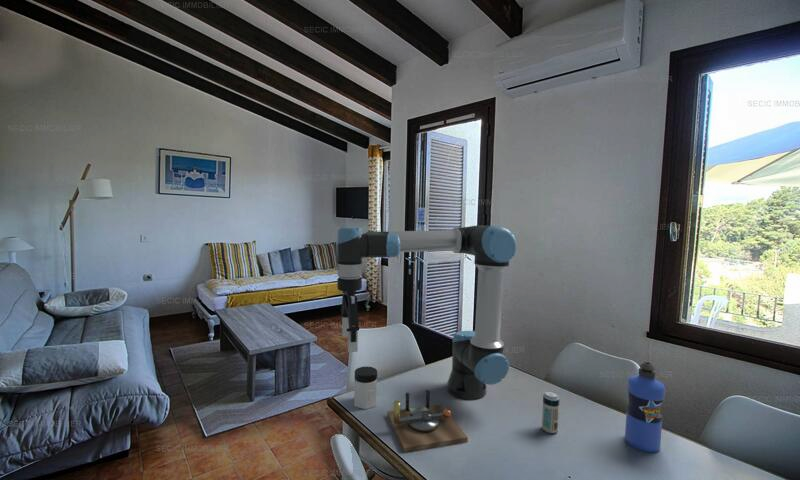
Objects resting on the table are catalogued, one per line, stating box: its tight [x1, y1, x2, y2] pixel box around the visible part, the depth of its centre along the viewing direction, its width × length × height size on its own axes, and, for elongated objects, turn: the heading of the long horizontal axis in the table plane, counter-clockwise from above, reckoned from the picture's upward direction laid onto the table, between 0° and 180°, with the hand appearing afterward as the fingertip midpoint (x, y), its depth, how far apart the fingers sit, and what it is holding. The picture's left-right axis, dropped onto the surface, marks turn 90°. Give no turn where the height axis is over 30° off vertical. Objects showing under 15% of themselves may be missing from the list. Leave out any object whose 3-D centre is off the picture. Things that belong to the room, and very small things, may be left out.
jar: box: [353, 366, 378, 410], centre depth 133 cm, size 9×8×12 cm
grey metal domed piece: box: [393, 400, 452, 432], centre depth 118 cm, size 19×10×8 cm, turn 106°
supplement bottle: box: [541, 390, 561, 434], centre depth 118 cm, size 5×5×12 cm
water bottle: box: [624, 361, 666, 454], centre depth 112 cm, size 9×9×25 cm
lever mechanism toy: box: [386, 389, 469, 454], centre depth 118 cm, size 20×20×8 cm
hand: (349, 343), depth 116 cm, fingers open, 13 cm apart
